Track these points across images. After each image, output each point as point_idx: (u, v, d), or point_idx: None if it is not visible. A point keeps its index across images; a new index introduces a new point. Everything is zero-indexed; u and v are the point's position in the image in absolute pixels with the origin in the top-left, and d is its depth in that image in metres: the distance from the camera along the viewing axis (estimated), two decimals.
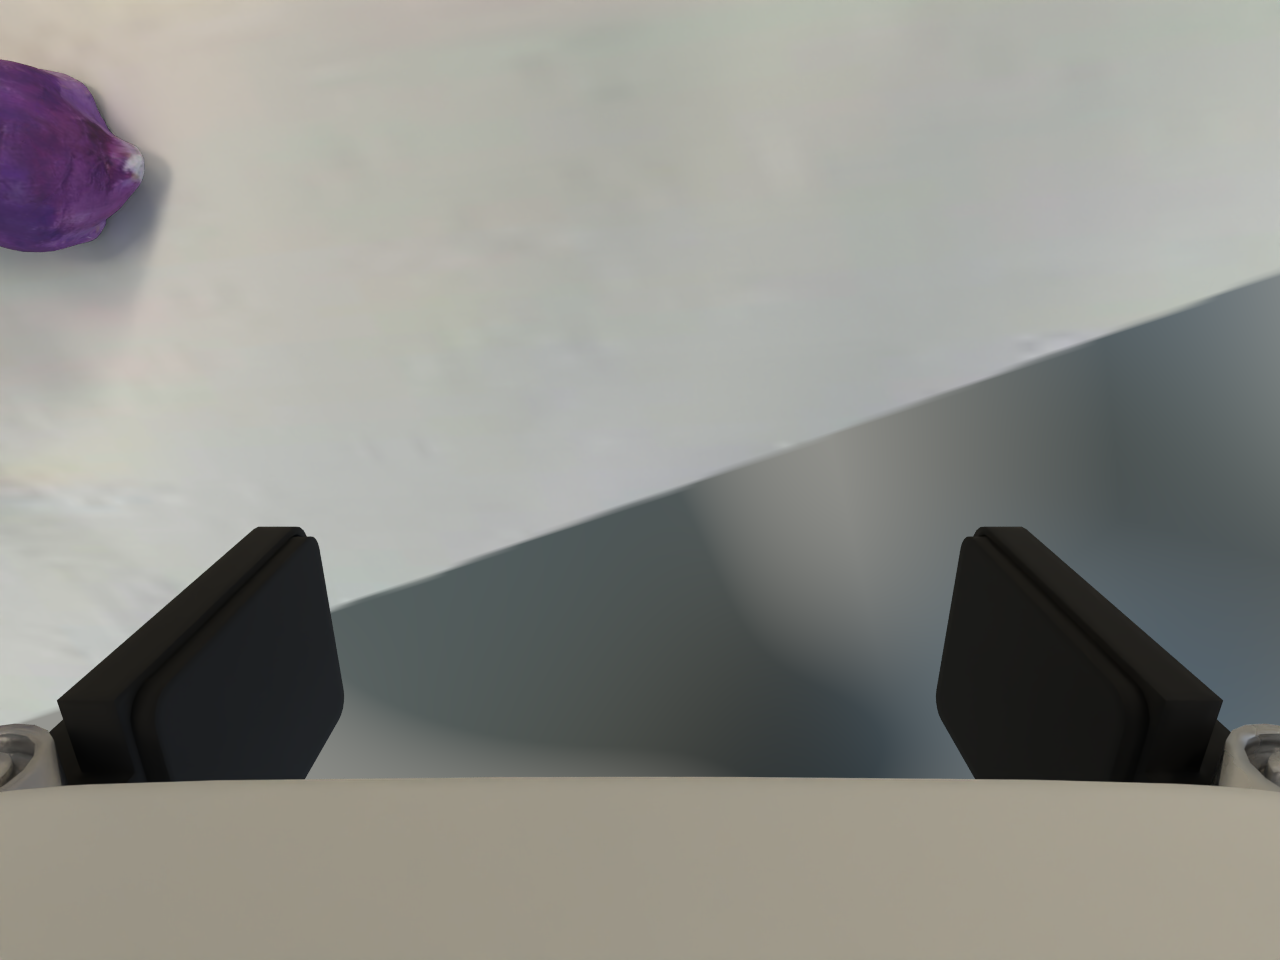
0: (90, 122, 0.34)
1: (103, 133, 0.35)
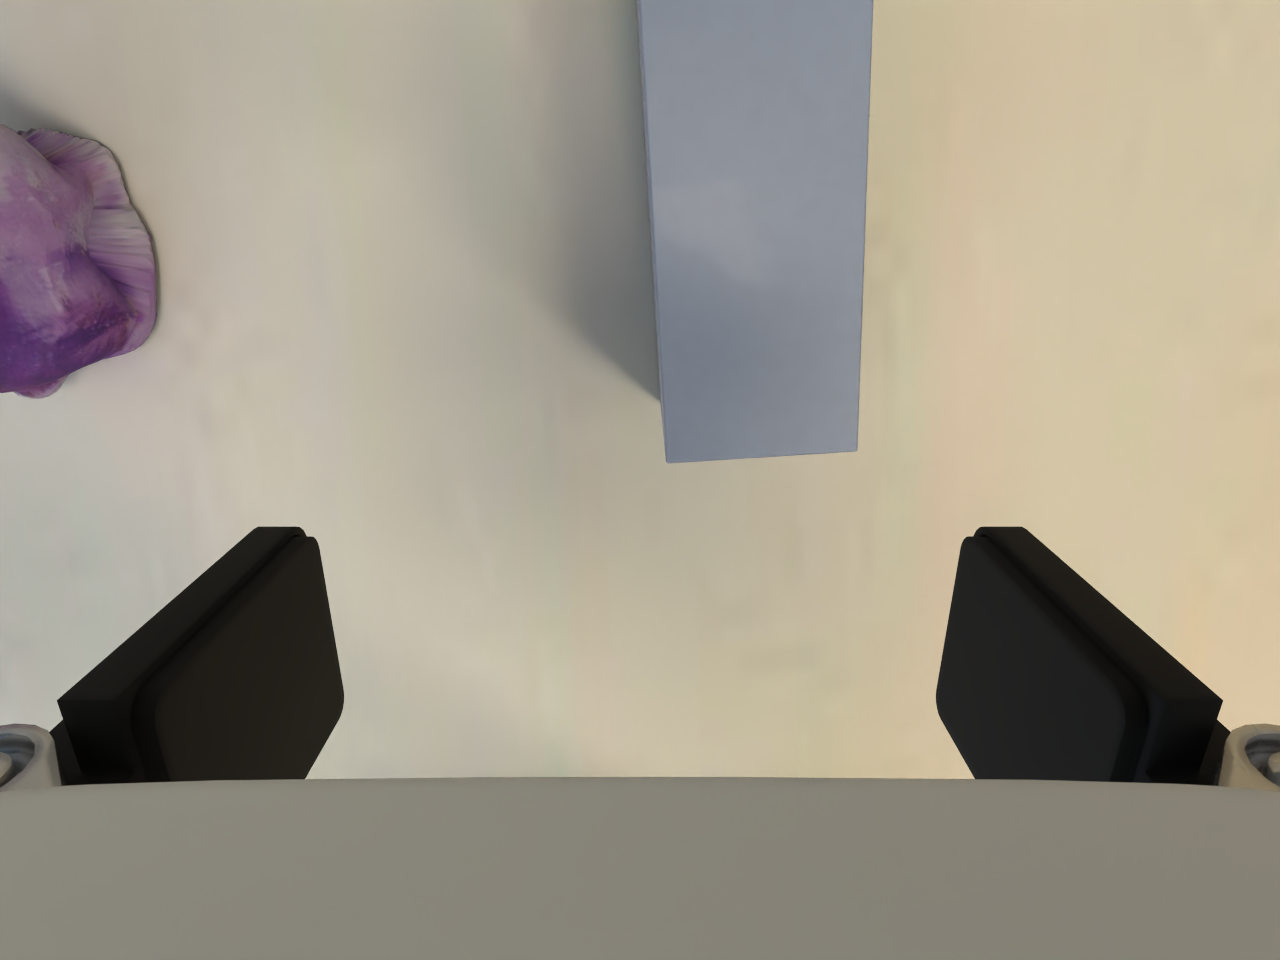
0: None
1: None
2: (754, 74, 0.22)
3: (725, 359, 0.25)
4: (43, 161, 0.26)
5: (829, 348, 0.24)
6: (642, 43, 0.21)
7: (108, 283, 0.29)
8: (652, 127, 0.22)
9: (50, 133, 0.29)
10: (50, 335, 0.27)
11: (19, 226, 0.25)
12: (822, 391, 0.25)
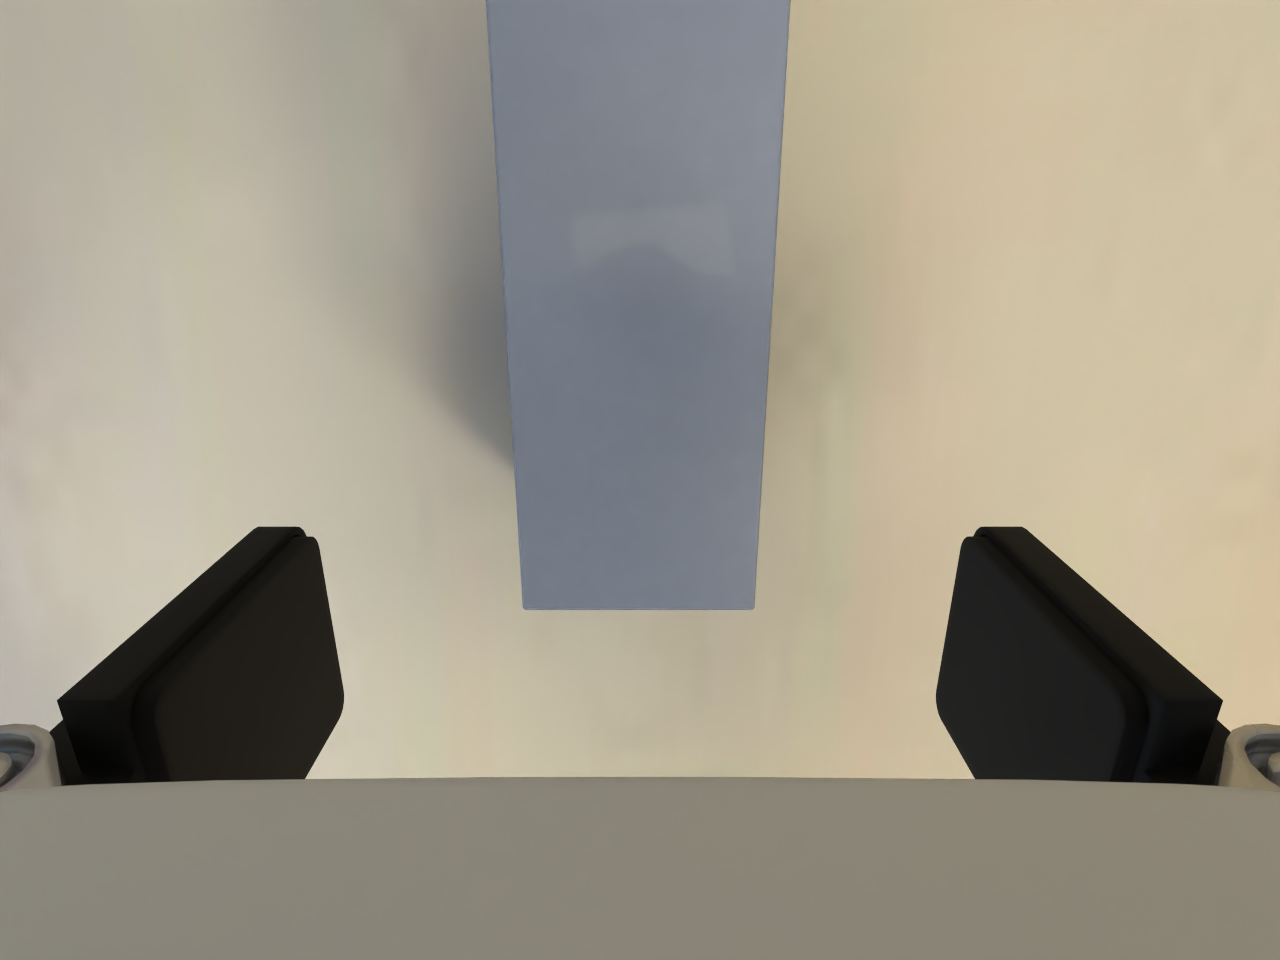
0: None
1: None
2: (635, 161, 0.17)
3: (596, 496, 0.20)
4: None
5: (722, 491, 0.20)
6: (493, 112, 0.17)
7: None
8: (506, 215, 0.18)
9: None
10: None
11: None
12: (713, 539, 0.21)
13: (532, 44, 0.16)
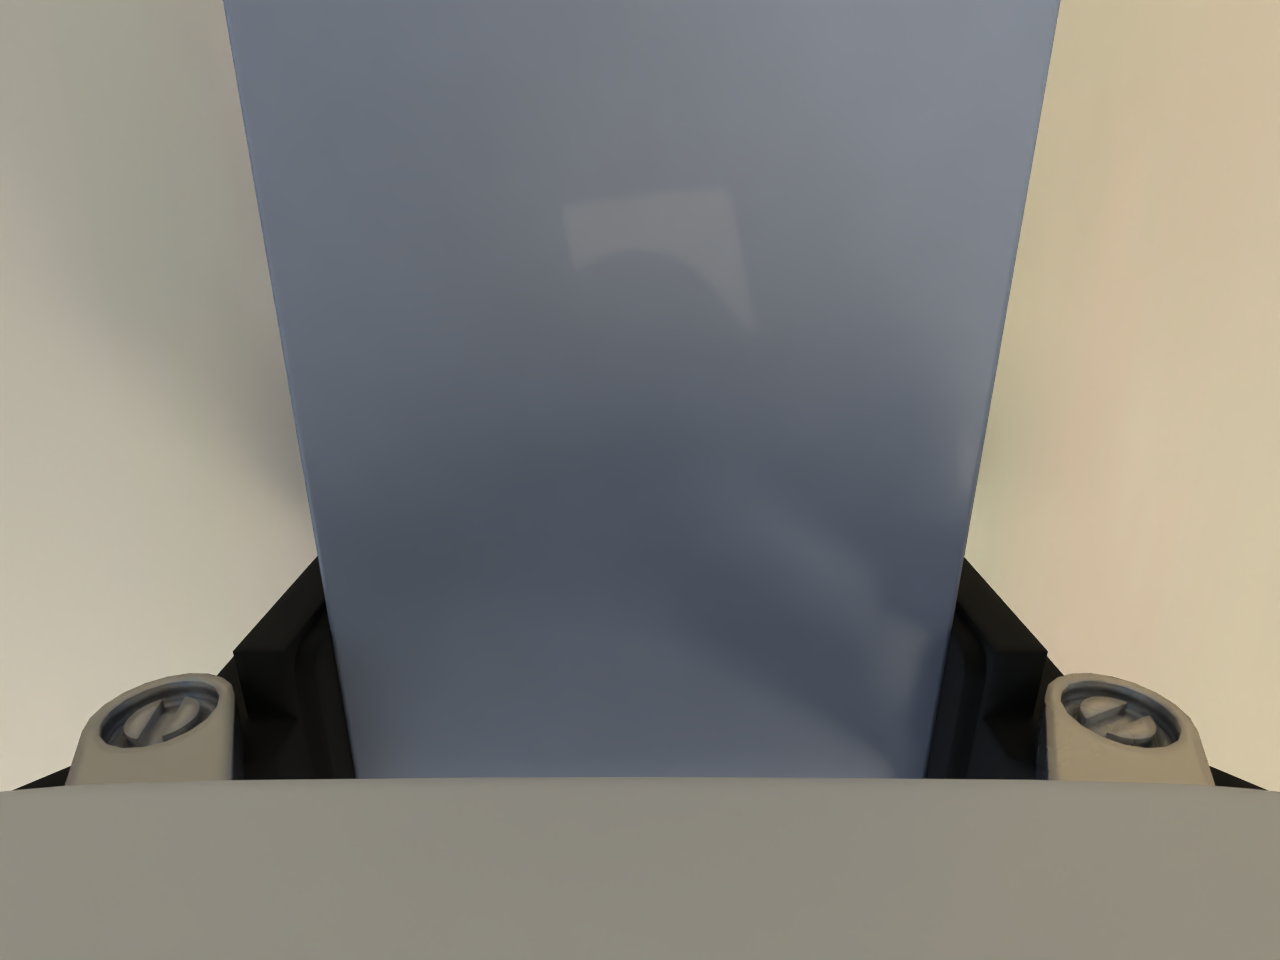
0: None
1: None
2: (632, 35, 0.06)
3: None
4: None
5: None
6: None
7: None
8: (274, 195, 0.06)
9: None
10: None
11: None
12: None
13: None
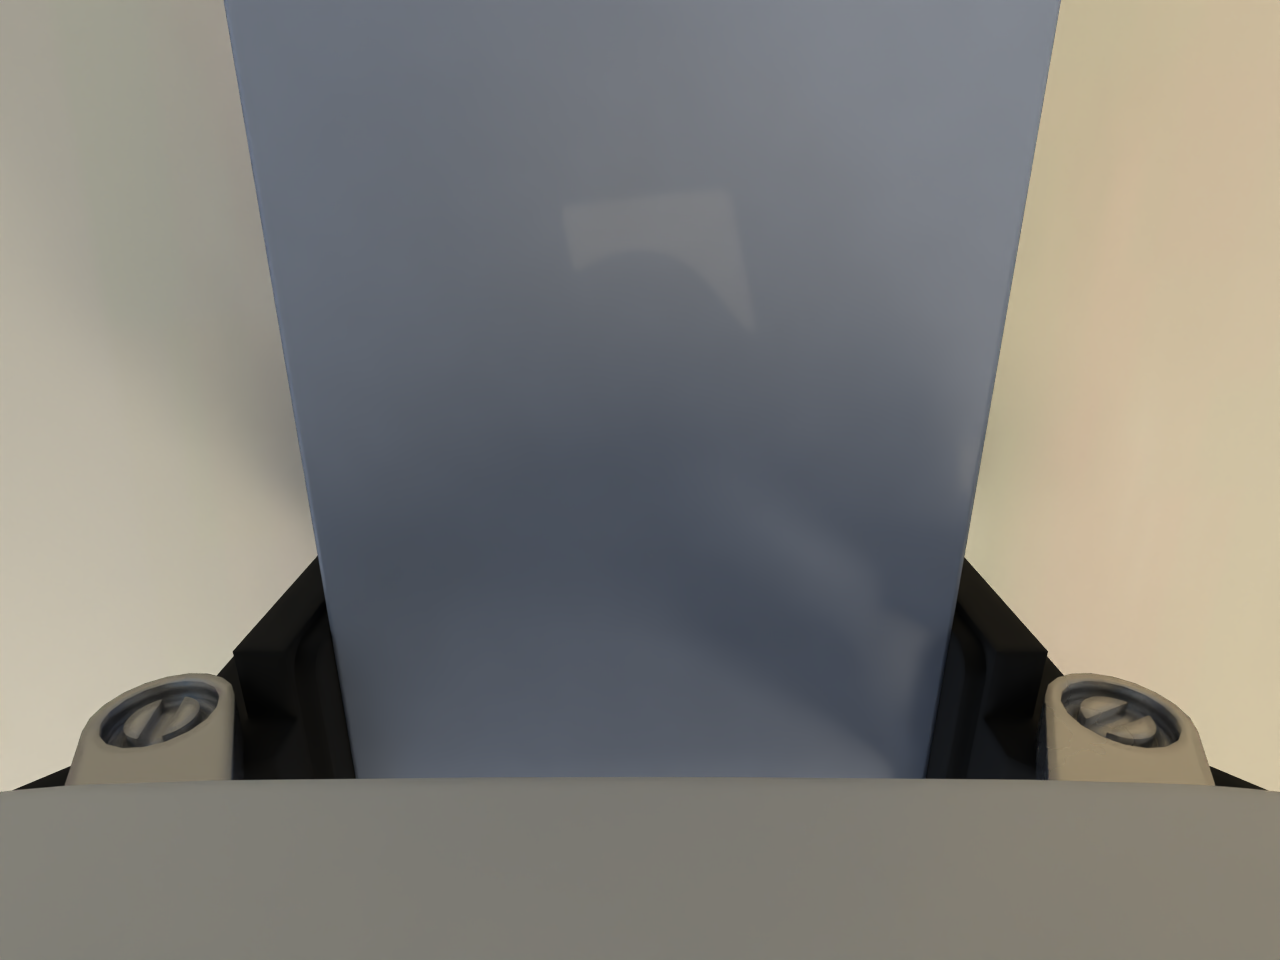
0: None
1: None
2: (633, 35, 0.06)
3: None
4: None
5: None
6: None
7: None
8: (274, 194, 0.06)
9: None
10: None
11: None
12: None
13: None
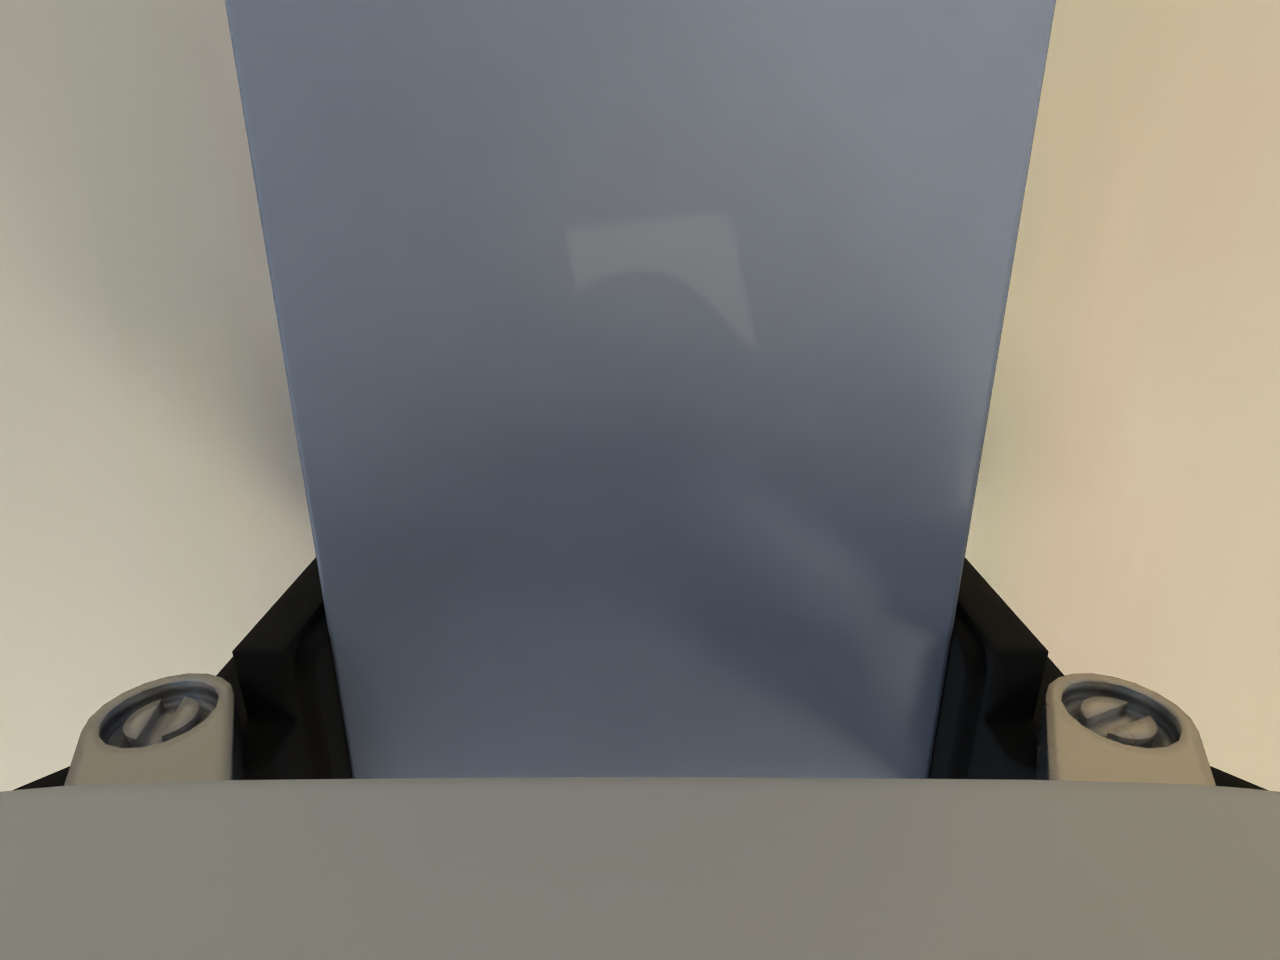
0: None
1: None
2: (631, 26, 0.06)
3: None
4: None
5: None
6: None
7: None
8: (273, 187, 0.06)
9: None
10: None
11: None
12: None
13: None
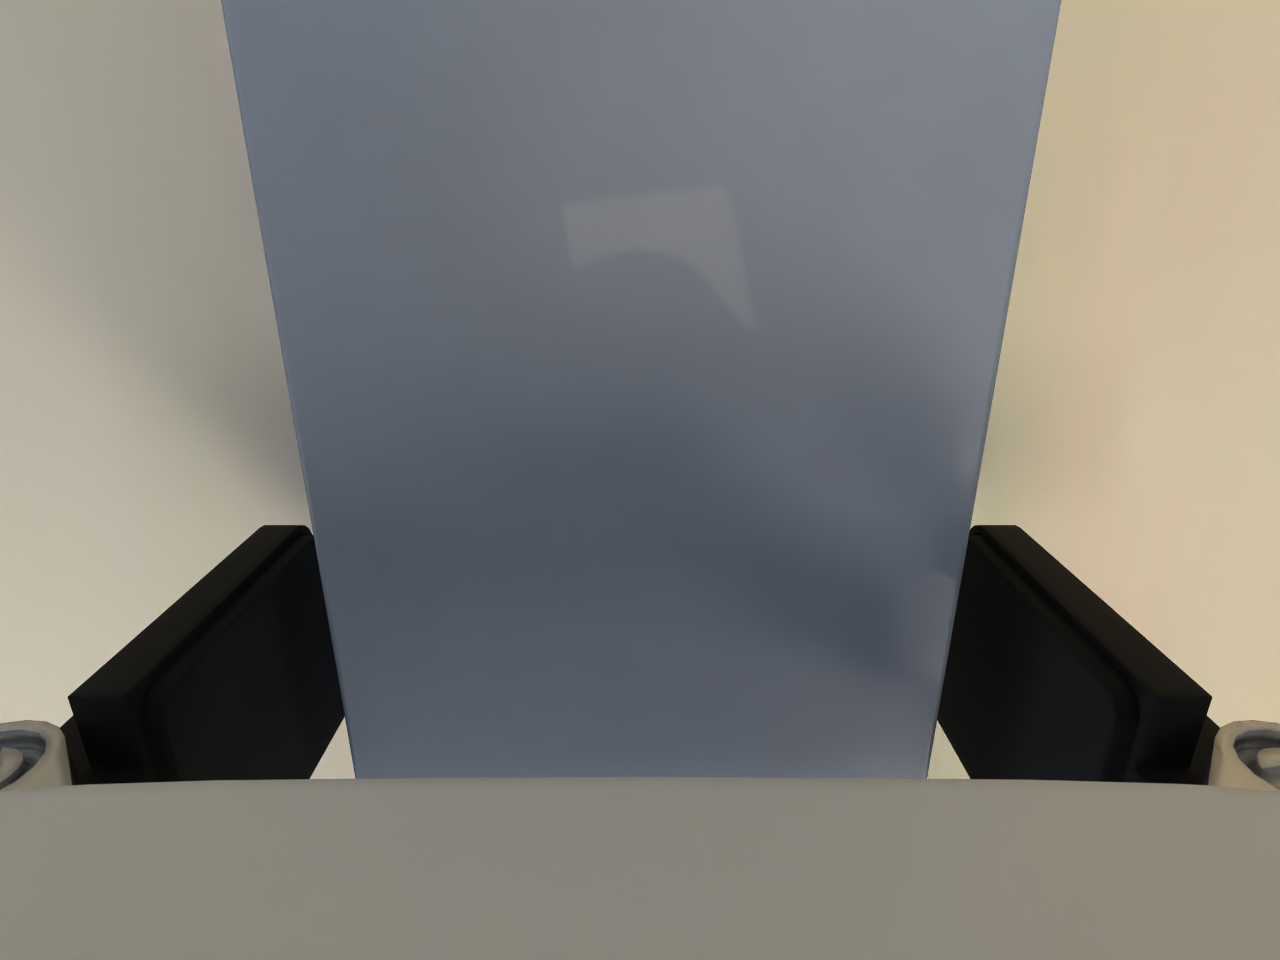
0: None
1: None
2: (631, 23, 0.06)
3: None
4: None
5: None
6: None
7: None
8: (271, 186, 0.06)
9: None
10: None
11: None
12: None
13: None
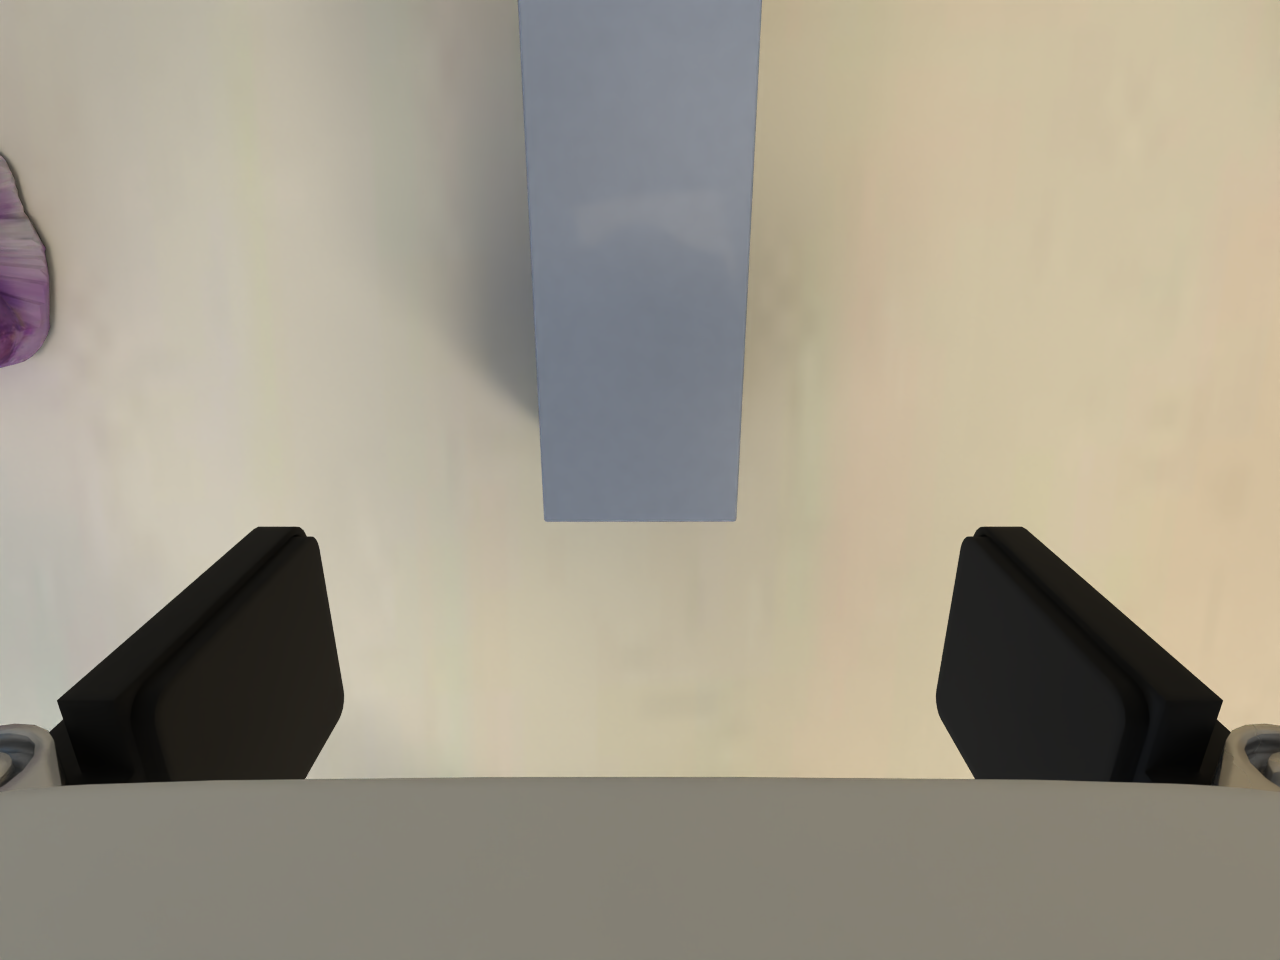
0: None
1: None
2: (637, 146, 0.21)
3: (605, 424, 0.24)
4: None
5: (709, 420, 0.24)
6: (524, 107, 0.21)
7: None
8: (533, 191, 0.22)
9: None
10: None
11: None
12: (701, 461, 0.25)
13: (555, 53, 0.21)
